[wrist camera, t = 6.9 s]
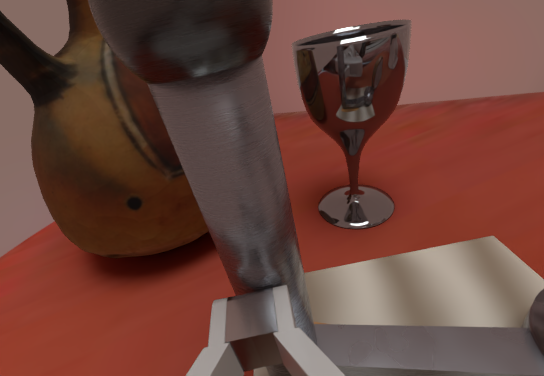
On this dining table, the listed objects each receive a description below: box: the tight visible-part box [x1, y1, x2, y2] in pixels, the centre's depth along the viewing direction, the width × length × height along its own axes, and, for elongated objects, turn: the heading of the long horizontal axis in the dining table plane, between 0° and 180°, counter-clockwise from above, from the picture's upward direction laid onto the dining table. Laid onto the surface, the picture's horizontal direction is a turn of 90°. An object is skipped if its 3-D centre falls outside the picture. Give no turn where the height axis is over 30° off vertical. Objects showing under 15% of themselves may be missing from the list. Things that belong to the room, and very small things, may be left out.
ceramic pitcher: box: [0, 0, 209, 258], centre depth 24 cm, size 20×20×30 cm
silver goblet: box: [292, 20, 411, 229], centre depth 23 cm, size 8×8×15 cm
